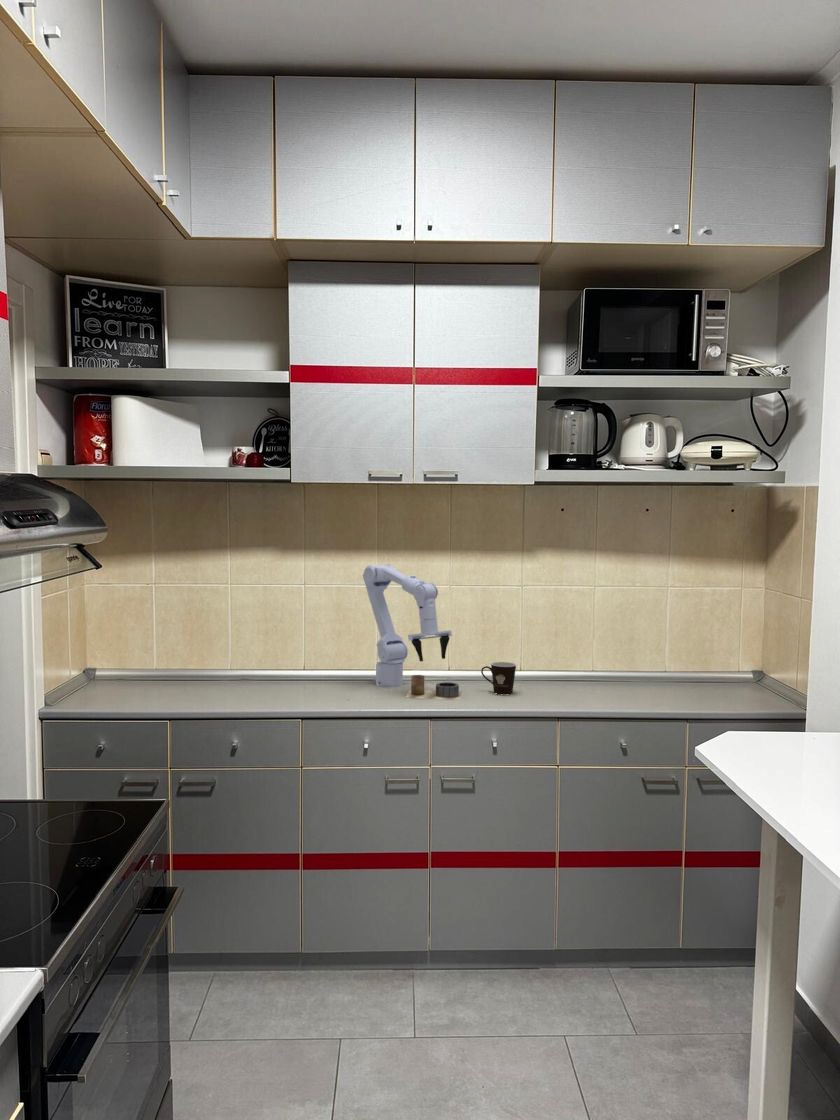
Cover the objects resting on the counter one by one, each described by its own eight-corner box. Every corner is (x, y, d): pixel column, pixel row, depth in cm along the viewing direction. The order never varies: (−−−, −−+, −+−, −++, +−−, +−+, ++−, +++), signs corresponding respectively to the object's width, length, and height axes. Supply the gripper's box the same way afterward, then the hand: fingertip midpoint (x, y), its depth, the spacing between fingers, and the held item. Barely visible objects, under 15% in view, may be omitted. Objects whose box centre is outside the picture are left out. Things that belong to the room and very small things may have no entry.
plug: (410, 695, 272) (410, 677, 271) (412, 692, 276) (412, 674, 276) (423, 695, 271) (423, 678, 271) (424, 692, 276) (425, 675, 275)
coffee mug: (520, 693, 281) (521, 664, 280) (504, 697, 275) (504, 667, 274) (495, 687, 289) (496, 659, 289) (479, 691, 284) (479, 662, 283)
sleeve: (435, 697, 269) (435, 686, 269) (437, 692, 277) (437, 681, 276) (457, 698, 268) (458, 687, 268) (459, 692, 276) (459, 682, 276)
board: (405, 700, 268) (405, 697, 268) (409, 692, 280) (409, 689, 280) (459, 702, 266) (459, 699, 266) (461, 694, 278) (461, 691, 278)
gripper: (409, 621, 268) (413, 662, 267) (451, 617, 271) (456, 657, 270) (405, 621, 275) (409, 662, 274) (447, 617, 277) (451, 657, 277)
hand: (432, 660), depth 272 cm, fingers open, 7 cm apart
